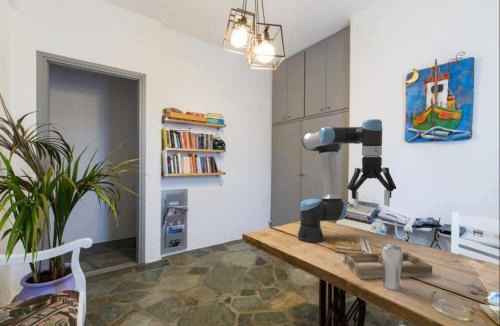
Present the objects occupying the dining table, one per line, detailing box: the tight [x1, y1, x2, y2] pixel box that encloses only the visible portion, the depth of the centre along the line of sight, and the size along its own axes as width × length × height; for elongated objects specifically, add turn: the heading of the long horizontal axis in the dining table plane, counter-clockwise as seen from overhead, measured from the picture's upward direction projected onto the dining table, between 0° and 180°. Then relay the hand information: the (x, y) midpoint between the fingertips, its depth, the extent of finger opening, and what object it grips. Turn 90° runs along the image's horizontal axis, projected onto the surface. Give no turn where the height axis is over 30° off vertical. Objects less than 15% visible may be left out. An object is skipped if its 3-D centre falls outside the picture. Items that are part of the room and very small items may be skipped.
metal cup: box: [380, 243, 403, 291], centre depth 90 cm, size 7×7×15 cm
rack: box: [344, 251, 433, 280], centre depth 103 cm, size 14×30×4 cm, turn 93°
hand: (371, 206), depth 103 cm, fingers open, 13 cm apart
